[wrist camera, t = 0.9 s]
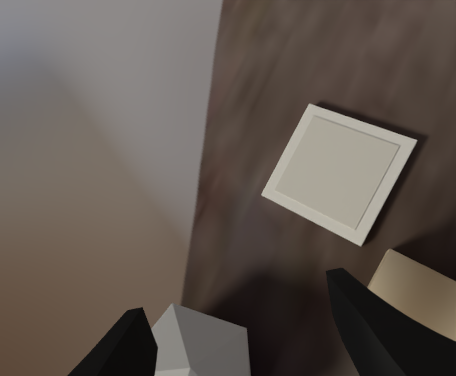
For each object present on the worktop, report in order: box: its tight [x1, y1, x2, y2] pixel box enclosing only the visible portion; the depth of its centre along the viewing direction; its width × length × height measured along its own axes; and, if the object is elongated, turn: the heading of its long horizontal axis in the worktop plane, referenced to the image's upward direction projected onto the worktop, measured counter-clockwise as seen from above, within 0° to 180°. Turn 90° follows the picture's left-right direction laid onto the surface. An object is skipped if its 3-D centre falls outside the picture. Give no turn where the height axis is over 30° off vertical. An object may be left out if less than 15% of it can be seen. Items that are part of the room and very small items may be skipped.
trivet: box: [261, 104, 417, 246], centre depth 24 cm, size 8×8×1 cm
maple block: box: [367, 249, 456, 341], centre depth 18 cm, size 5×5×6 cm
